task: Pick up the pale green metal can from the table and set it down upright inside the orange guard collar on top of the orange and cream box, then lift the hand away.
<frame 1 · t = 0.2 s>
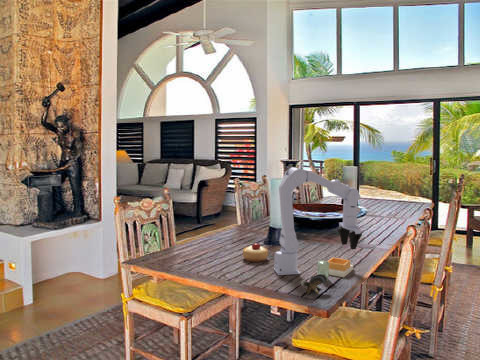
hand: (348, 246, 173), 10 cm above the table, tool pointing down, fingers open, 7 cm apart
pastry: (255, 259, 188), on the table
green can: (322, 279, 161), on the table
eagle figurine: (313, 292, 148), on the table
orange and cream box: (338, 271, 171), on the table
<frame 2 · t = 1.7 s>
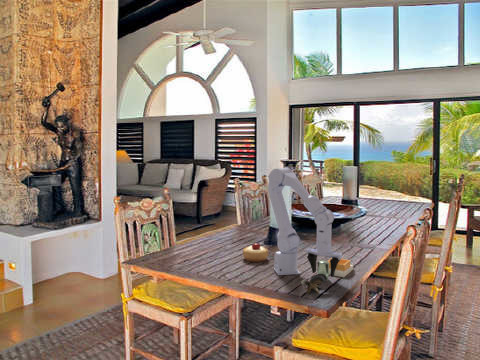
hand: (323, 274, 161), 2 cm above the table, tool pointing down, fingers open, 7 cm apart
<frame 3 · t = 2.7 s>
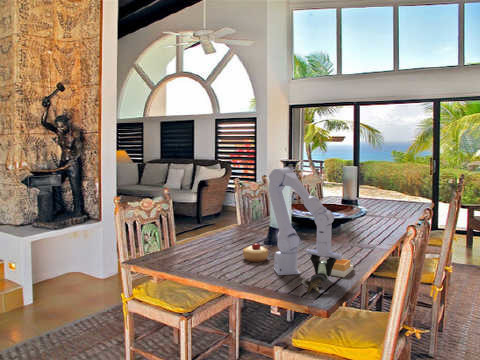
hand: (323, 274, 161), 2 cm above the table, tool pointing down, fingers closed on green can, 4 cm apart
green can: (322, 279, 161), on the table, touching gripper
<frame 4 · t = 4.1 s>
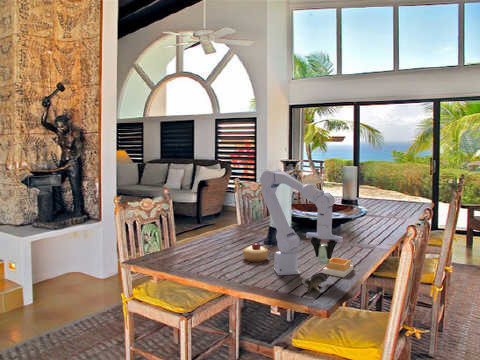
hand: (323, 257, 161), 9 cm above the table, tool pointing down, fingers closed on green can, 4 cm apart
green can: (323, 262, 161), point 7 cm above the table, touching gripper
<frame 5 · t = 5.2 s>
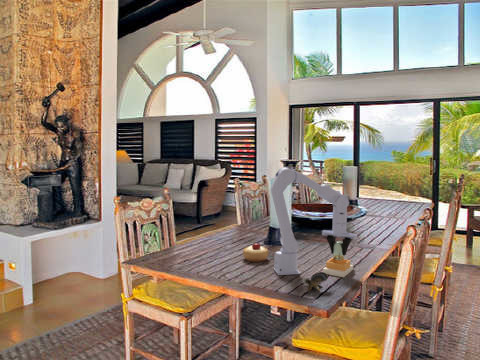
hand: (338, 254, 170), 8 cm above the table, tool pointing down, fingers closed on green can, 4 cm apart
green can: (338, 258, 170), point 6 cm above the table, touching gripper
when the fingers open (6 cm above the table, at t = 6.3 s): green can drops 2 cm, resting on orange and cream box.
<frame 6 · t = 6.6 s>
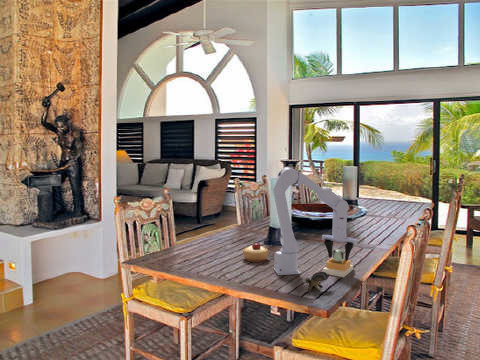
hand: (338, 258, 170), 6 cm above the table, tool pointing down, fingers open, 6 cm apart
green can: (338, 266, 171), point 2 cm above the table, touching orange and cream box
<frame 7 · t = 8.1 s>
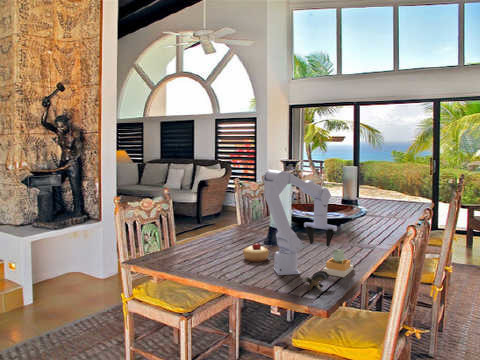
hand: (319, 244, 178), 9 cm above the table, tool pointing down, fingers open, 7 cm apart
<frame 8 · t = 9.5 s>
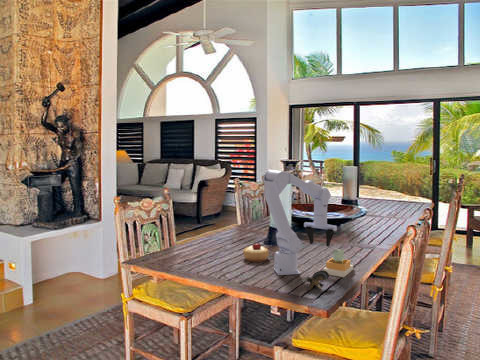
hand: (319, 244, 178), 9 cm above the table, tool pointing down, fingers open, 7 cm apart
at the end: green can 0.1 cm off-centre on the orange and cream box, point 2.0 cm above the orange and cream box's base; green can tilted 1°; the gripper is holding nothing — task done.
